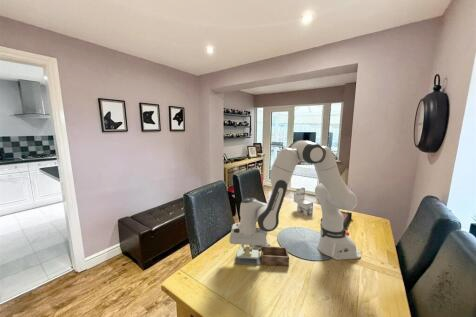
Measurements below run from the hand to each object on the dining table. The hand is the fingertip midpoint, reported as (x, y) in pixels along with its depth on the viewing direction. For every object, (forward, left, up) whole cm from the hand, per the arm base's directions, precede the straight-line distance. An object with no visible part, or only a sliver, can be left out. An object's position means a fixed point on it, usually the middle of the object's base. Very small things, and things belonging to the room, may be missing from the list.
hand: (247, 251), depth 108 cm
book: (-67, -50, -5) cm, 84 cm away
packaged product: (-4, -17, -5) cm, 18 cm away
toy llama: (-46, -65, -5) cm, 80 cm away
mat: (0, 0, -5) cm, 5 cm away
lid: (0, 0, -2) cm, 2 cm away
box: (-15, 0, -5) cm, 15 cm away
